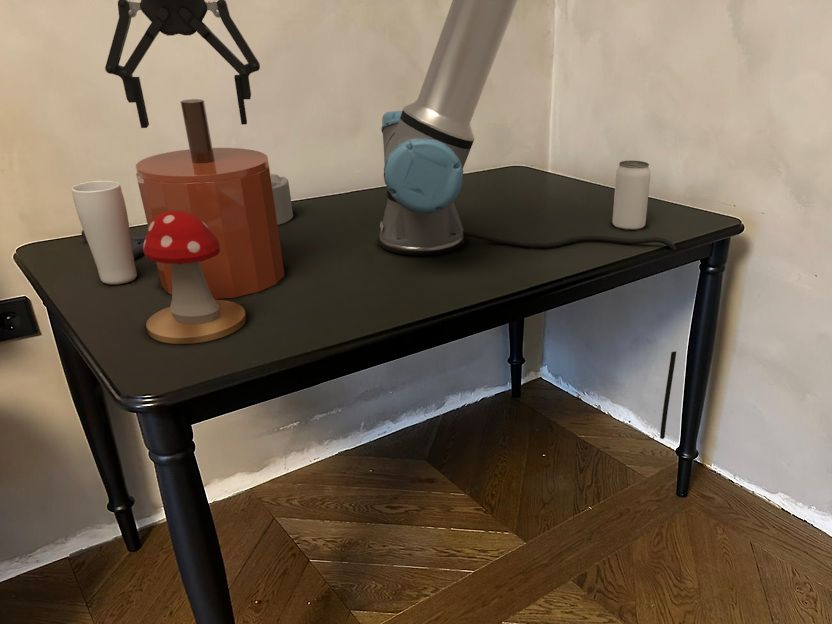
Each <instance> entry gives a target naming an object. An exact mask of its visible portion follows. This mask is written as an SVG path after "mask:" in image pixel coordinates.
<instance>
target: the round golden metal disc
mask: <svg viewBox="0 0 832 624" xmlns="http://www.w3.org/2000/svg"><path fill="white" fill-rule="evenodd" d="M215 301H216V302H217V304H218V305H219V313H218V317H217V318H216V319H215V320H213V321H211V322H207V323H202V324H185V323H180V322H178V321H176V320H175V318H174V317H173V315H172V314H171V312H170V306H167V307H164V308H162V309H160V310H159V311H157V312H155V313H153V314H152V315H151V316H150V317H149V318H148V319H147V321H146V322H145V323H146V325H145V327H146V330H147V334H148V336H149V337H150V338H151V339H153V340H155V341H158V342H160V343H165V344H172V345H191V344H192V345H193V344H199V343H207V342H210V341H215V340H218V339H221V338H224V337H227V336H230V335H231V334H234V333H236V332H237V331H239V330H240V329H241V328H242V327H243V326H244V325H245V324H246V322H247V315H246V310H245V308H244V307H243V306H242V305H241V304H239V303H237V302H233V301H229V300H224V299H215Z"/></svg>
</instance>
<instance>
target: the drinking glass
mask: <svg viewBox="0 0 832 624" xmlns="http://www.w3.org/2000/svg"><path fill="white" fill-rule="evenodd" d="M70 190H71V194H72V198H73V203H74V207H75V210H76V214H77V217H78V219H79V223H80V226H81V228H82V230H83V231H84V234H85V236H86V239H87V241H86V242H87V245H88V247H89V249H90V252H91V255H92V258H93V261H94V264H95V266H96V269H97V273H98V276H99V279H100V281H101V282H102V283H104V284H106V285H109V286H110V285H111V286H117V285H118V286H119V285H123V284H128V283H131V282H133V281H134V280H136V278H137V276H138V272H137V268H136V263H135V259H134V256H133V249H132V243H131V236H132V235H131V230H130V223H129V216H128V210H127V205H126V204H127V203H126V201H125V197H124V192H123V190H122V186H121V183H120V182H118V181H116V180H115V181H114V180H92V181H86V182H81V183H78V184H75V185H73V186H72V187H71V188H70Z"/></svg>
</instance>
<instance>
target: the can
mask: <svg viewBox="0 0 832 624" xmlns="http://www.w3.org/2000/svg"><path fill="white" fill-rule="evenodd" d="M618 164H619V165H618V167H617V169H616V172H615V183H614V196H613V208H612V222H611V223H612V225H613V227H615V228H617V229H619V230H625V231H638V230H641V229H643V228H644V227H645V226H646V220H647V213H648V204H649V192H650V182H651V171H650V168H649V166H650V164H649V163H648V162H646V161H643V160H635V159H634V160H629V159H628V160H622V161H619V163H618Z"/></svg>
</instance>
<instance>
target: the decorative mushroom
mask: <svg viewBox="0 0 832 624" xmlns="http://www.w3.org/2000/svg"><path fill="white" fill-rule="evenodd" d="M145 235H146V238H145V241H144V247H143V252H144V254H143V255H144V257H145V258H146V259H147V260H150V261H152V262H154V263H156V262H159V263H165V264H171V272H172V295H171V301H170V306H169V307H170V312H171V314H172V315H173V317H174V318H175V320H176V321H178V322H180V323H185V324H202V323H207V322H211V321H213V320H215V319H216V318H217V317H218V313H219V305H218V304H217V302H216V301H215V300H216V299H214V298H213V296H212V294H211V292H210V290H209V287H208V285H207V282H206V279H205V277H204V274H203V272H202V269H201V266H200V263H199V262H201V261H205V260H207V259H210V258H212V257H214V256H216V255H217V254H219V253H220V244H219V242H218V240H217V238H216V237H215V235H214V234H213V233H212V232H211V231H210V230H209V228H208V227H207V225H206V224H205V223H204V222H203V221H201V220H200V219H199V218H197V217H196V216H194V215H192V214H190V213H187V212H183V211H169V212H165V213H163V214H161V215H159V216H157V217H156V218H155V219H154V220H153V221H152V222H151V224H150V225H149V228H148V227H147V233H146V234H145Z"/></svg>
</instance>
